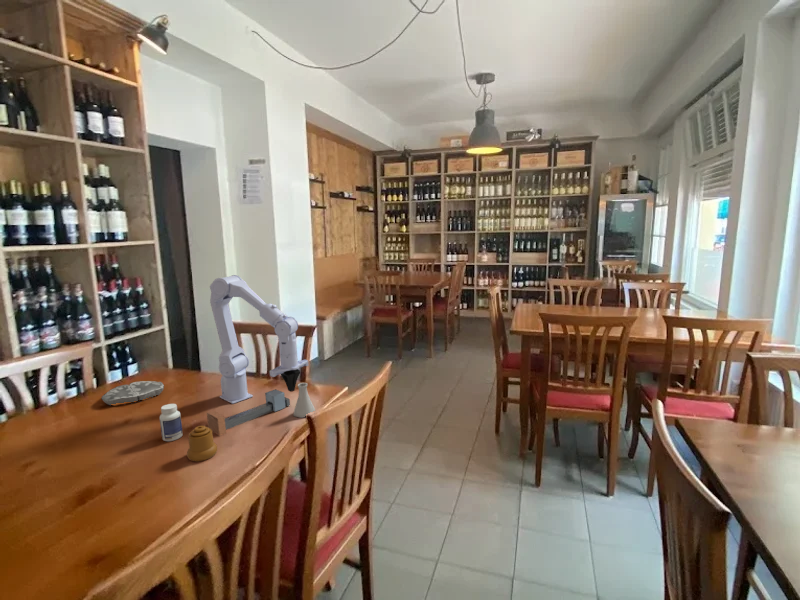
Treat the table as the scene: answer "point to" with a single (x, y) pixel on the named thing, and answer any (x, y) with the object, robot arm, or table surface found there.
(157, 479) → the table surface
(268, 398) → the block
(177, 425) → the pill bottle
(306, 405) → the flask
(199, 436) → the ornamental finial
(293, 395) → the table surface
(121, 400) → the brain slice
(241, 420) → the rail
